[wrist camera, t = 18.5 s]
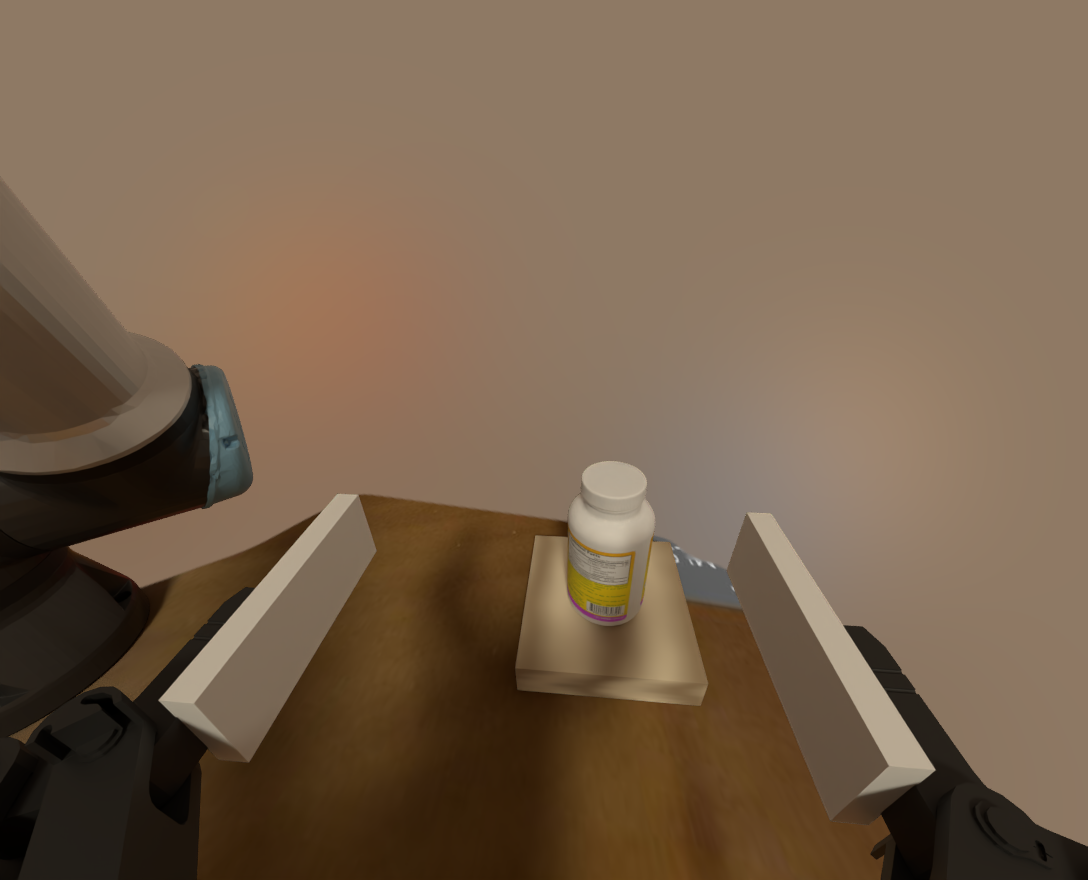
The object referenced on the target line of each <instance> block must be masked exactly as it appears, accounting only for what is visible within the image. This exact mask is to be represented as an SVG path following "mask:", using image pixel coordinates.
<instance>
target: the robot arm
mask: <svg viewBox="0 0 1088 880" xmlns="http://www.w3.org/2000/svg"><path fill="white" fill-rule="evenodd" d="M252 481H253V472H252V467H251V462H250V457H249V453H248V449H247V445H246V441H245V437H244V434H243V430H242V426H241V423H240V419H239V416H238V413H237V409H236V406H235V403H234V400H233V396H232V393H231V390H230V387H229V384H228V382H227V379H226V377H225V374H224V372H223V371H222V370H221V369H220V368H218V367H216V366H203V365H200V364H198V365H192V366H191V368H188V367H187V366H186V365H185V363H184V362H183V361H182V360H181V358H180V357H179V356H178V355H177V354H176V353H175V352H174V351H173V350H172V349H170V348H168V347H167V346H165V345H164V344H162V343H160V342H158V341H156V340H154V339H151V338H148V337H145V336H142V335H138V334H135V333H130V332H127V331H126V329H125V328H124V327H123V326H122V325H121V323H120V322H119V321H118V320H117V319H116V317H115V316H114V315H113V314H112V312H111V311H110V310H109V309H108V308H107V306H106V305H105V304H104V303H103V301H102V300H101V299H100V298H99V297H98V295H97V294H96V293H95V292H94V290H93V289H92V288H91V287H90V286H89V284H88V283H87V282H86V281H85V280H84V279H83V277H82V276H81V275H80V273H79V272H78V271H77V270H76V269H75V267H74V266H73V265H72V264H71V262H70V261H69V260H68V259H67V258H66V256H65V255H64V254H63V253H62V252H61V250H60V249H59V248H58V247H57V245H56V244H55V243H54V242H53V240H52V239H51V238H50V237H49V236H48V234H47V233H46V232H45V231H44V230H43V228H42V227H41V226H40V225H39V223H38V222H37V221H36V220H35V219H34V217H33V216H32V215H31V214H30V212H29V211H28V210H27V209H26V208H25V206H24V205H23V204H22V203H21V201H20V200H19V199H18V198H17V197H16V195H15V194H14V193H13V192H12V190H11V189H10V188H9V187H8V186H7V184H6V183H5V182H4V181H3V179H2V178H1V177H0V880H197V861H198V839H199V817H200V794H201V768H200V764H199V760H200V759H201V757H202V756H203V754H204V753H205V752H206V750H207V749H208V750H209V751H210V752H211V753H212V754H213V755H214V756H216V757H217V758H218V759H219V760H227V761H237V762H247V763H249V762H250V760H251V758H252V757H253V755H254V753H255V752H256V750H257V748H258V747H259V745H260V744H261V742H262V740H263V739H264V737H265V735H266V734H267V732H268V730H269V729H270V727H271V725H272V724H273V722H274V720H275V719H276V717H277V715H278V714H279V712H280V710H281V709H282V707H283V705H284V704H285V702H286V700H287V699H288V697H289V695H290V694H291V692H292V690H293V689H294V687H295V685H296V684H297V682H298V680H299V679H300V677H301V675H302V674H303V672H304V670H305V669H306V667H307V665H308V664H309V662H310V660H311V659H312V657H313V655H314V654H315V652H316V650H317V649H318V647H319V646H320V644H321V642H322V641H323V639H324V637H325V636H326V634H327V632H328V631H329V629H330V627H331V626H332V624H333V622H334V621H335V619H336V617H337V616H338V614H339V612H340V611H341V609H342V607H343V606H344V604H345V602H346V601H347V599H348V597H349V596H350V594H351V592H352V591H353V589H354V587H355V586H356V584H357V582H358V581H359V579H360V577H361V576H362V574H363V572H364V571H365V569H366V567H367V566H368V564H369V562H370V561H371V559H372V557H373V556H374V554H375V553H376V548H375V545H374V542H373V538H372V535H371V532H370V529H369V526H368V523H367V520H366V517H365V514H364V511H363V508H362V505H361V501H360V498H359V495H355V494H337V495H336V496H335V497H334V498H333V499H332V500H331V502H330V503H329V504H328V505H327V506H326V507H325V508H324V510H323V511H322V512H321V513H320V514H319V515H318V517H317V518H316V519H315V520H314V521H313V522H312V524H311V525H310V526H309V527H308V528H307V529H306V530H305V532H304V533H303V534H302V535H301V536H300V537H299V539H298V540H297V541H296V542H295V543H294V544H293V545H292V547H291V548H290V549H289V550H288V551H287V552H286V554H285V555H284V556H283V557H282V558H281V559H280V560H279V562H278V563H277V564H276V565H275V566H274V567H273V569H272V570H271V571H270V572H269V573H268V574H267V576H266V577H265V578H264V579H263V580H262V581H261V582H260V584H259V585H258V586H257V587H256V588H249V587H245V588H244V589H242V590H241V591H239V592H238V593H237V594H235V595H234V596H233V597H231V598H230V599H228V600H227V601H226V602H224V603H223V604H222V606H221V607H220V608H219V609H218V610H217V611H216V612H215V613H214V614H213V615H212V617H211V618H210V619H209V620H208V623H207V624H204V625H203V626H202V627H201V629H200V630H199V631H198V632H197V633H196V634H195V635H194V638H193V639H192V640H190V641H189V642H188V643H187V644H186V645H185V646H184V647H183V648H182V649H181V650H180V652H179V653H178V654H177V655H176V656H175V657H174V658H173V659H172V660H171V661H170V662H169V664H168V665H167V666H166V667H165V668H164V669H163V670H162V671H161V672H160V673H159V674H158V676H157V677H156V678H155V679H154V680H153V681H152V682H151V683H150V684H149V685H148V687H147V688H146V689H145V690H144V691H143V692H142V693H141V694H140V695H139V696H138V697H137V698H136V699H135V700H134V701H133V702H132V701H131V700H130V699H129V698H128V697H127V696H126V695H124V694H123V693H122V692H121V691H120V690H118V689H117V688H115V687H113V686H112V687H99V688H96V689H93V690H90V691H87V692H84V693H82V694H80V695H79V696H77V697H75V698H73V699H71V698H72V697H74V696H75V695H76V694H78V693H79V692H80V691H82V690H83V689H84V688H86V687H87V686H88V685H89V684H91V683H92V682H93V681H94V680H96V679H97V678H98V677H99V676H100V675H102V674H103V673H104V672H105V671H106V670H107V669H108V668H109V667H110V666H112V665H113V664H114V663H115V662H116V661H117V660H118V659H119V658H120V657H121V656H122V654H123V653H124V652H125V651H126V650H127V649H128V648H129V647H130V645H131V644H132V643H133V642H134V640H135V639H136V638H137V636H138V635H139V633H140V632H141V630H142V628H143V626H144V625H145V622H146V620H147V617H148V614H149V601H148V598H147V597H146V595H145V594H144V593H143V592H142V590H141V589H140V588H139V587H138V585H137V584H136V583H135V582H134V581H133V580H132V579H130V578H129V577H127V576H125V575H123V574H121V573H119V572H117V571H115V570H113V569H110V568H108V567H106V566H104V565H102V564H100V563H98V562H95V561H94V560H92V559H89V558H87V557H85V556H83V555H81V554H79V553H77V552H75V551H73V550H72V549H70V548H69V547H68V546H70V545H74V544H77V543H81V542H84V541H87V540H91V539H95V538H98V537H101V536H105V535H108V534H112V533H115V532H118V531H122V530H125V529H129V528H132V527H136V526H139V525H143V524H146V523H150V522H153V521H156V520H160V519H163V518H167V517H170V516H173V515H176V514H180V513H184V512H187V511H191V510H194V509H198V508H202V509H205V508H209V507H210V506H212V505H213V504H214V503H217V502H220V501H223V500H226V499H229V498H232V497H235V496H238V495H240V494H242V493H244V492H245V491H247V489H248V488H249V487H250V486H251V484H252ZM727 573H728V575H729V578H730V580H731V582H732V585H733V587H734V590H735V592H736V595H737V597H738V599H739V602H740V604H741V607H742V609H743V611H744V614H745V616H746V619H747V621H748V624H749V626H750V628H751V631H752V633H753V636H754V638H755V640H756V643H757V645H758V648H759V650H760V653H761V655H762V657H763V660H764V662H765V665H766V667H767V669H768V672H769V674H770V677H771V679H772V682H773V684H774V686H775V689H776V691H777V694H778V696H779V698H780V701H781V703H782V706H783V708H784V711H785V713H786V715H787V718H788V720H789V723H790V725H791V727H792V730H793V732H794V735H795V737H796V740H797V742H798V744H799V747H800V749H801V752H802V754H803V756H804V759H805V761H806V764H807V766H808V769H809V771H810V773H811V776H812V778H813V781H814V783H815V785H816V788H817V790H818V793H819V795H820V798H821V800H822V802H823V805H824V807H825V810H826V812H827V814H828V817H829V819H830V821H834V822H843V823H853V824H863V825H869V824H870V823H871V822H873V821H874V820H875V819H876V818H878V817H879V816H880V815H882V817H883V819H884V821H885V823H886V825H887V827H888V829H889V831H890V833H891V834H890V835H888V836H887V837H886V838H884V839H883V840H882V841H880V842H879V843H877V844H876V845H875V846H874V848H873V850H872V852H871V854H870V855H872V856H873V857H874V858H875V859H876V860H877V859H879V858H880V857H882V856H883V855H884V854H885V855H884V862H883V868H882V874H881V880H1088V846H1085V845H1083V844H1080V843H1078V842H1075V841H1073V840H1071V839H1068V838H1066V837H1063V836H1061V835H1059V834H1056V833H1054V832H1051V831H1049V830H1047V829H1044V828H1042V827H1040V826H1038V825H1036V824H1035V823H1034V822H1033V821H1032V820H1031V819H1030V818H1029V817H1028V816H1027V815H1026V814H1025V813H1024V812H1023V811H1022V810H1021V809H1019V808H1018V807H1017V806H1015V805H1014V804H1013V803H1012V802H1010V801H1009V800H1008V799H1006V798H1005V797H1004V796H1002V795H1001V794H999V793H997V792H995V791H993V790H991V789H989V788H987V787H986V786H985V785H984V784H983V783H982V782H981V780H980V779H979V778H978V776H977V775H976V774H975V773H974V772H973V770H972V769H971V768H970V766H969V765H968V763H967V762H966V761H965V759H964V758H963V756H962V755H961V754H960V752H959V750H958V749H957V748H956V746H955V745H954V744H953V742H952V741H951V739H950V738H949V736H948V735H947V734H946V732H945V731H944V729H943V728H942V726H941V725H940V724H939V722H938V721H937V719H936V718H935V717H934V715H933V714H932V712H931V711H930V710H929V708H928V707H927V705H926V704H925V703H924V701H923V700H922V698H921V697H920V695H919V694H916V693H915V688H914V687H913V685H912V684H911V683H910V681H909V680H908V678H907V677H906V676H905V675H903V674H902V672H901V669H900V667H899V666H898V664H897V663H896V661H895V660H894V659H893V657H892V656H891V654H890V653H889V652H888V650H887V649H886V647H885V646H884V645H882V644H881V643H880V642H879V641H878V640H877V639H876V638H874V636H873V635H871V634H870V633H869V632H868V631H867V630H866V629H865V628H864V627H860V626H844V625H842V623H841V622H840V620H839V619H838V617H837V615H836V614H835V612H834V611H833V609H832V608H831V606H830V605H829V603H828V601H827V600H826V598H825V597H824V595H823V594H822V592H821V590H820V589H819V588H818V586H817V584H816V583H815V581H814V580H813V578H812V577H811V575H810V573H809V572H808V570H807V569H806V567H805V566H804V564H803V562H802V561H801V559H800V558H799V556H798V555H797V553H796V552H795V550H794V548H793V547H792V545H791V544H790V542H789V541H788V539H787V538H786V536H785V535H784V533H783V531H782V530H781V528H780V527H779V525H778V524H777V522H776V520H775V519H774V517H773V516H772V514H769V513H746V516H745V519H744V522H743V525H742V527H741V531H740V533H739V536H738V539H737V542H736V545H735V548H734V551H733V554H732V557H731V559H730V562H729V565H728V568H727ZM69 699H71V700H70V701H68V700H69ZM67 701H68V702H67ZM65 702H66V703H65ZM64 703H65V704H64ZM62 704H63V705H62ZM61 705H62V706H61ZM59 706H61V707H59ZM58 707H59V708H58ZM56 708H58V709H57V710H55V709H56ZM53 710H55V711H54V712H53V713H51V714H50V715H49V716H47V718H46V719H45V720H44V721H43V722H42V723H41V724H40V725H39V726H38V727H37V728H36V729H35V730H34V731H33V732H32V734H31V736H30V737H29V739H28V741H27V742H26V744H24V743H22V742H21V741H19V740H17V739H14V738H11V737H7V736H9V735H11V734H13V733H15V732H17V731H19V730H21V729H23V728H24V727H26V726H28V725H30V724H32V723H33V722H35V721H37V720H38V719H40V718H42V717H43V716H45V715H47V714H48V713H50V712H51V711H53Z"/></svg>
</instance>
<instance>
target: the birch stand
mask: <svg viewBox="0 0 1088 880" xmlns="http://www.w3.org/2000/svg"><path fill="white" fill-rule="evenodd" d="M567 562H568V537H555V536H535V543H534V549H533V556H532V562H531V569H530V575H529V582H528V588H527V595H526V601H525V608H524V614H523V621H522V627H521V634H520V640H519V647H518V653H517V659H516V666H515V672H516V682H517V690H523V691H534V692H546V693H557V694H569V695H581V696H592V697H604V698H615V699H627V700H638V701H650V702H662V703H673V704H685V705H696V706H701V703H702V700H703V697H704V695H705V692H706V689H707V686H708V681H707V677H706V674H705V670H704V666H703V663H702V659H701V655H700V652H699V648H698V644H697V640H696V637H695V633H694V629H693V626H692V622H691V618H690V615H689V611H688V607H687V603H686V600H685V596H684V592H683V589H682V585H681V581H680V577H679V574H678V570H677V566H676V563H675V559H674V555H673V552H672V548H671V544H670V542H654V541H652V547H651V554H650V560H649V566H648V573H647V579H646V586H645V592H644V598H643V602H642V606H641V608H640V610H639V612H638V613H637V614H636V616H635V617H634V618H632V619H631V620H629V621H628V622H626V623H623V624H621V625H616V626H602V625H598V624H595V623H592V622H590V621H588V620H586V619H585V618H583V617H582V616H581V615H580V614H578V613H577V612H576V610H575V609H574V608H573V606H572V604H571V602H570V600H569V597H568V590H567Z"/></svg>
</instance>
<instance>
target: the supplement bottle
mask: <svg viewBox="0 0 1088 880" xmlns="http://www.w3.org/2000/svg"><path fill="white" fill-rule="evenodd" d="M581 482H582V483H581V493H580V494H578V495H577V496H576V497H575V499H574V500H573V501H572V503H571V505H570V507H569V511H568V562H567V590H568V597H569V600H570V602H571V604H572V606H573V608H574V609H575V610H576V612H577V613H578V614H580V615H581V616H582V617H583V618H585V619H586V620H588V621H590V622H592V623H595V624H598V625H602V626H616V625H621V624H623V623H626V622H628V621H629V620H631V619H632V618H634V617H635V616H636V614H637V613H638V612H639V610H640V608H641V606H642V602H643V598H644V592H645V586H646V579H647V573H648V566H649V560H650V554H651V547H652V541H653V535H654V529H655V516H654V512H653V510H652V508H651V506H650V504H649V503H648V502H647V501H646V499H645V496H646V487H647V480H646V477H645V475H644V474H643V473H642V472H641V471H640V470H639V469H637V468H636V467H634V466H631V465H629V464H626V463H622V462H615V461H605V462H599V463H595V464H593V465H591V466H589V467H588V468H587V469H585V471H584V472H583V474H582V481H581Z"/></svg>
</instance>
